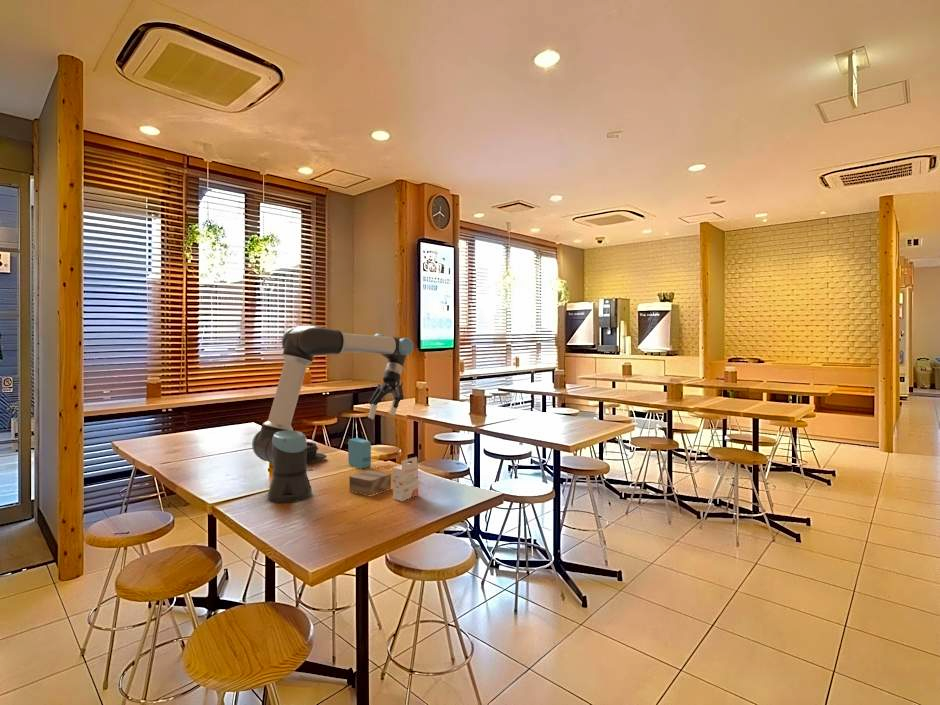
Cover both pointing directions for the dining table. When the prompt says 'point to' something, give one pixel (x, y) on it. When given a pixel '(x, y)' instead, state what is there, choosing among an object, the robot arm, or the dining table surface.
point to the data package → (359, 453)
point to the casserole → (313, 453)
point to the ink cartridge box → (405, 480)
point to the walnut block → (370, 482)
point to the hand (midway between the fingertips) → (381, 416)
